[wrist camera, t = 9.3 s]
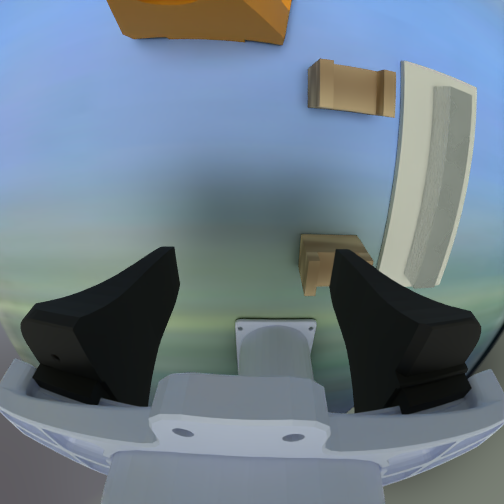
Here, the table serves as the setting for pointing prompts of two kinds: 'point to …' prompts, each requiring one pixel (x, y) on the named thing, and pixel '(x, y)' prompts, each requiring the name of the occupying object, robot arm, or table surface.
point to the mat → (416, 166)
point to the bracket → (203, 19)
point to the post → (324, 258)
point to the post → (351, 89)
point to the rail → (441, 185)
